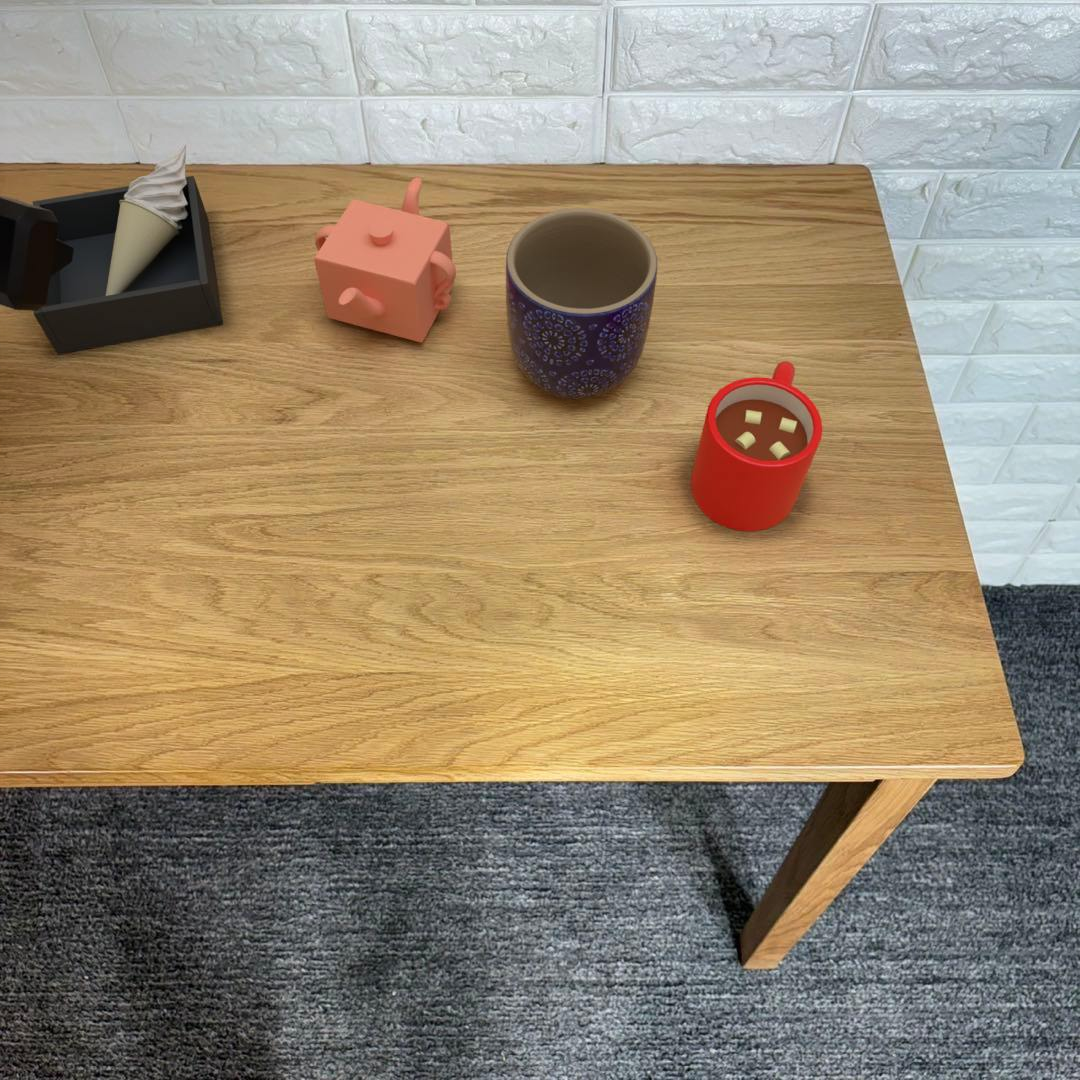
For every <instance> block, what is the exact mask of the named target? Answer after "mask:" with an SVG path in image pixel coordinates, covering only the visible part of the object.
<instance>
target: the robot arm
mask: <svg viewBox="0 0 1080 1080" xmlns="http://www.w3.org/2000/svg"><path fill="white" fill-rule="evenodd" d="M57 229H58V221H57V219H56V217H55V215H54V213H53V212H52V211H50V210H47V209H44V208H41V207H37V206H34V205H33V204H31V203H28V202H25V201H21V200H18V199H14V198H11V197H7V196H2V195H0V306H2V307H7V308H9V309H12V310H15V311H32V312H33V311H38V310H39V309H41V308H42V307H43V306H45V305H46V302H47V295H48V289H49V282H50V277H52V276H53V275H54V274H56V273H57V272H59V271H60V270H61V269H63V268H64V267H66V266H67V265H68V264H70V263H71V262H72V258H73V252H74V248H73V247H72V246H71V245H68V244H66V243H64V242H62V241H60V240H58V239H56V236H57Z"/></svg>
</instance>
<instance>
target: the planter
mask: <svg viewBox="0 0 1080 1080" xmlns="http://www.w3.org/2000/svg"><path fill="white" fill-rule="evenodd" d="M657 275H658V256H657V252H656V249H655V247H654V245H653V243H652V241H651V240H650V239H649V237H648V236H647V235H646V234H645V232H644V231H642V230H641V229H640V228H639V227H638V226H636V224H634V223H632V222H631V221H629V220H627V219H626V218H623V217H622V216H619V215H617V214H614V213H611V212H608V211H604V210H600V209H594V208H583V207H582V208H581V207H577V208H576V207H574V208H573V207H572V208H565V209H564V208H563V209H559V210H558V209H557V210H554V211H551V212H548V213H545V214H542V215H540V216H538V217H536V218H534V219H532V220H531V221H529V222H527V223H526V224H524V225H523V227H521V228H520V229H519V230H518V231H517V233H516V234H515V235H514V236H513V237H512V239H511V241H510V243H509V246H508V248H507V251H506V257H505V304H506V305H505V306H506V307H505V308H506V321H507V323H506V325H507V331H508V332H507V333H508V339H509V344H510V349H511V353H512V355H513V358H514V361H515V363H516V365H517V366H518V368H519V369H520V371H521V372H522V373H523V375H524V376H525V377H526V378H527V379H528V380H529V381H530V382H531V383H532V384H534V385H535V386H536V387H537V388H538V389H541V391H544V392H546V393H548V394H550V395H553V396H556V397H559V398H564V399H571V400H582V399H583V400H585V399H590V398H594V397H598V396H601V395H604V394H606V393H608V392H610V391H612V390H613V389H615V388H617V387H618V386H620V385H621V384H622V383H623V382H624V381H625V380H626V379H627V378H629V376H630V375H631V374H632V373H633V372H634V371H635V368H636V367H637V365H638V363H639V361H640V359H641V357H642V355H643V350H644V348H645V344H646V340H647V337H648V333H649V328H650V321H651V316H652V310H653V306H654V298H655V292H656V285H657Z"/></svg>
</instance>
